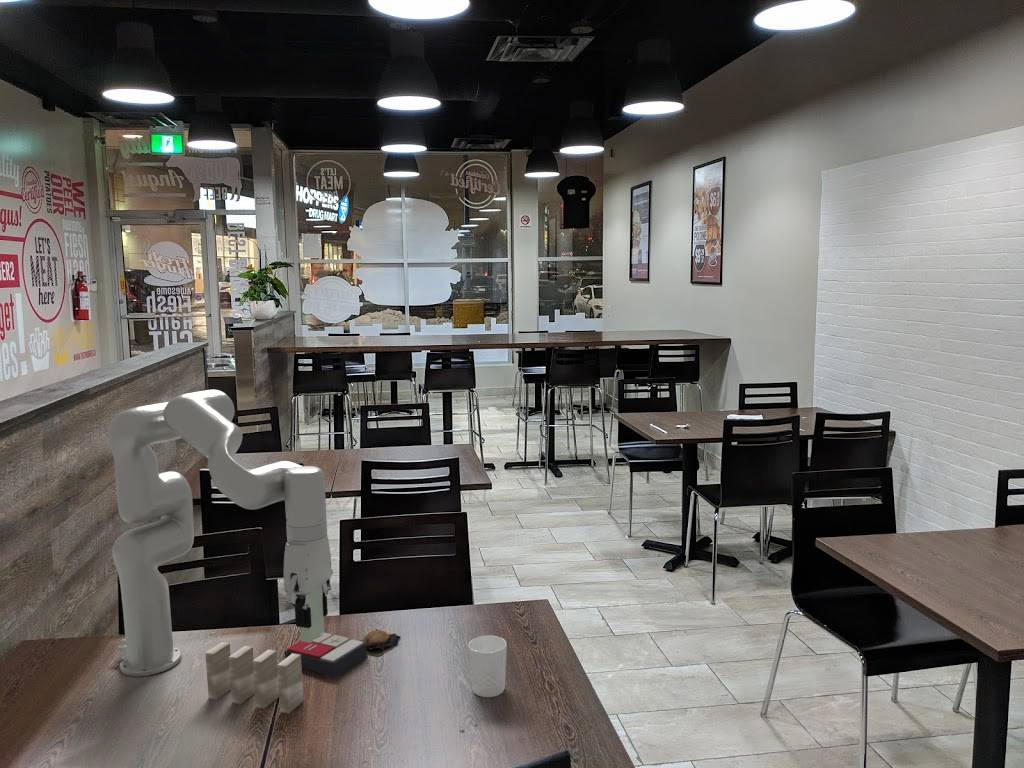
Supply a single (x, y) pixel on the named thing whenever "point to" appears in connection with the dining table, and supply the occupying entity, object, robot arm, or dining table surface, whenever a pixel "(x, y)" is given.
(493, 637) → the white cup
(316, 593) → the domino
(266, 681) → the domino
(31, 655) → the dining table surface
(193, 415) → the robot arm
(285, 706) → the domino
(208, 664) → the domino
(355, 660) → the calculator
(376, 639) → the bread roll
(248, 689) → the domino
